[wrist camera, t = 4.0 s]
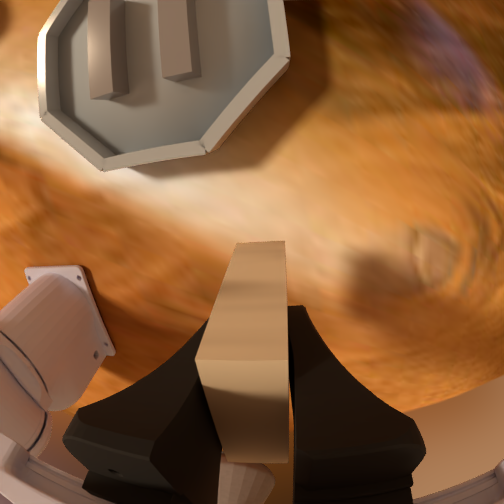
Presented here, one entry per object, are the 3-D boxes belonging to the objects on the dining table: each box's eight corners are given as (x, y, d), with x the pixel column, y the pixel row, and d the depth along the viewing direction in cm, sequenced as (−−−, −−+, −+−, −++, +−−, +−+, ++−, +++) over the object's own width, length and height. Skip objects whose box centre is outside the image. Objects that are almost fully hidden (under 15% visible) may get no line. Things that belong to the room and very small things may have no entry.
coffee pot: (279, 476, 34) (274, 562, 21) (205, 474, 36) (189, 553, 22) (259, 398, 26) (243, 546, 12) (151, 395, 27) (104, 515, 14)
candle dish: (296, 143, 16) (299, 147, 14) (70, 177, 18) (45, 187, 16) (268, -68, 10) (266, -91, 7) (61, -6, 12) (39, -15, 9)
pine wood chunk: (288, 336, 14) (288, 463, 8) (247, 337, 14) (227, 461, 8) (284, 240, 12) (287, 360, 6) (236, 243, 13) (194, 359, 6)
